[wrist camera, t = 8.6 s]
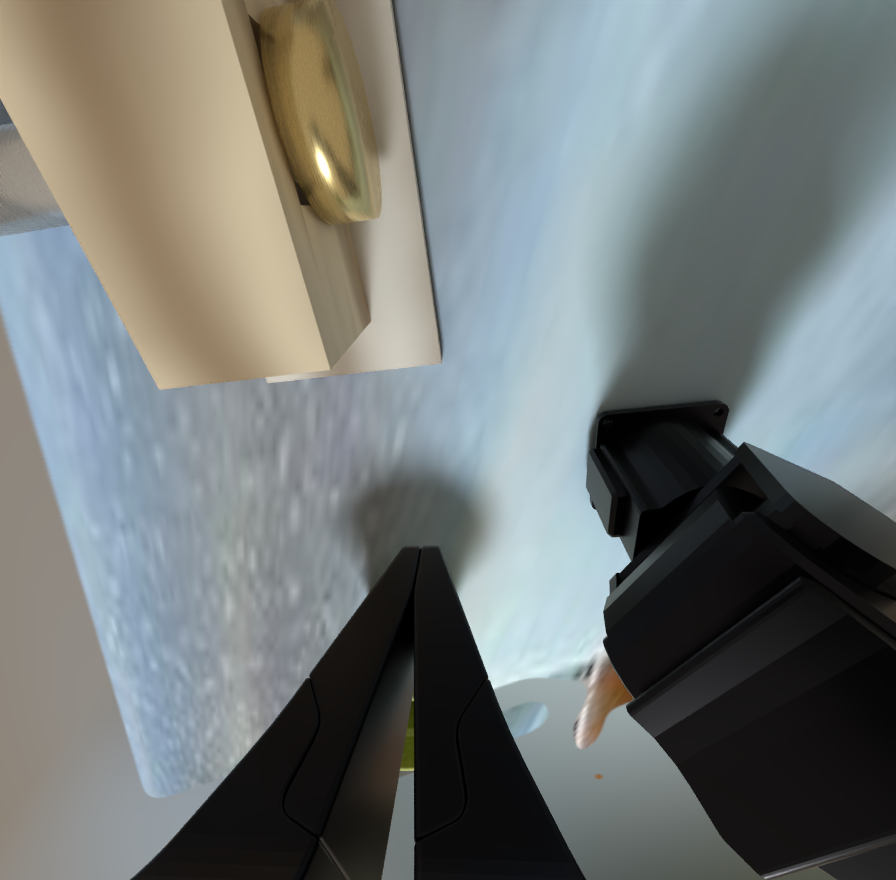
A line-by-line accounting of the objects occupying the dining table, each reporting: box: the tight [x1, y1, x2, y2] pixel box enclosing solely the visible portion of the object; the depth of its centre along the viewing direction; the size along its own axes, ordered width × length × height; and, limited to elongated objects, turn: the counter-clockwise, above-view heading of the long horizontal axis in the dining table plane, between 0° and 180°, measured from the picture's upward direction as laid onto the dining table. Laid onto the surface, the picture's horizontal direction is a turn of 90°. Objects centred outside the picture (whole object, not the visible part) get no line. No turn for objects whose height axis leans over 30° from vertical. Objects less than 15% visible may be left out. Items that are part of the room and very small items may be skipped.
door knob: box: [0, 0, 382, 236], centre depth 13 cm, size 16×5×5 cm, turn 97°
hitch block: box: [0, 0, 442, 390], centre depth 12 cm, size 9×18×7 cm, turn 7°
